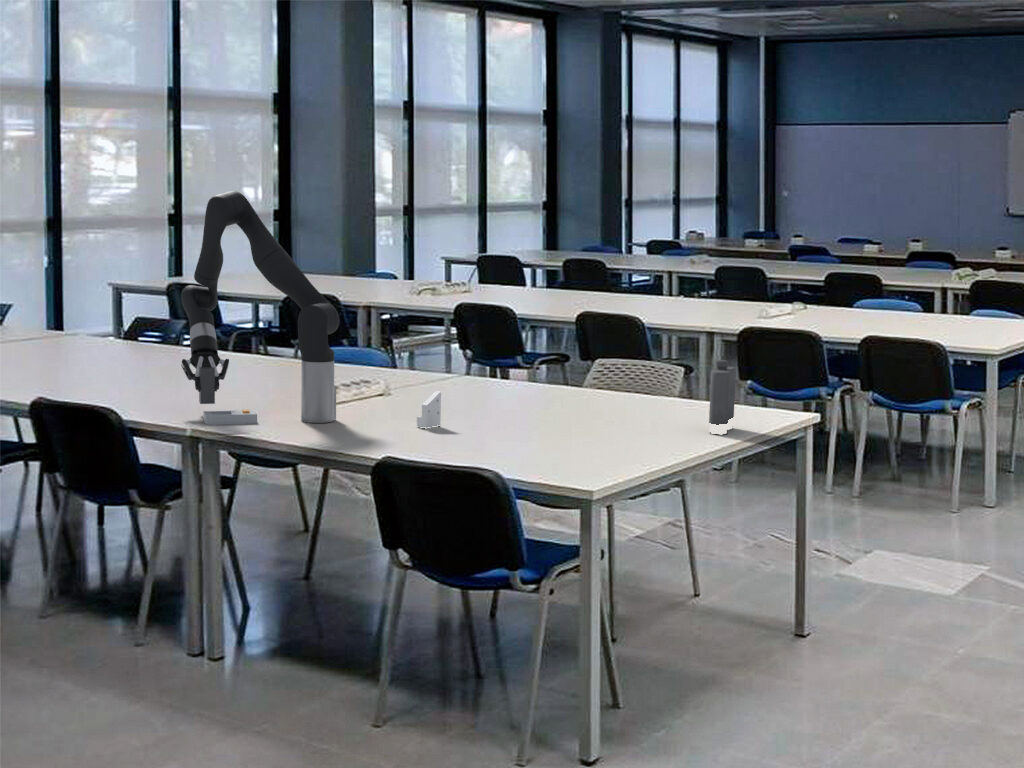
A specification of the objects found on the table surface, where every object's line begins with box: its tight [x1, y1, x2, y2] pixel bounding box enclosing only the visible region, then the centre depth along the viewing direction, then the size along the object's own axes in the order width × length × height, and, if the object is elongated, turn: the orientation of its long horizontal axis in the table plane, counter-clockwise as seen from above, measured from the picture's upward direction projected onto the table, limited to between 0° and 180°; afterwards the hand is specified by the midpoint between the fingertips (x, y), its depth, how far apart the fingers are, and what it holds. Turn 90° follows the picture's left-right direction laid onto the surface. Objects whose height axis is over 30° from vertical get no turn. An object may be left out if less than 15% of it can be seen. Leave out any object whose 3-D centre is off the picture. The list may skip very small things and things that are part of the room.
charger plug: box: [198, 367, 216, 405], centre depth 431 cm, size 4×4×10 cm
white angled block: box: [416, 390, 442, 428], centre depth 423 cm, size 4×10×9 cm
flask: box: [708, 359, 737, 425], centre depth 427 cm, size 15×6×20 cm, turn 162°
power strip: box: [202, 409, 258, 426], centre depth 421 cm, size 14×7×4 cm, turn 107°
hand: (207, 389), depth 429 cm, fingers closed on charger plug, 4 cm apart
